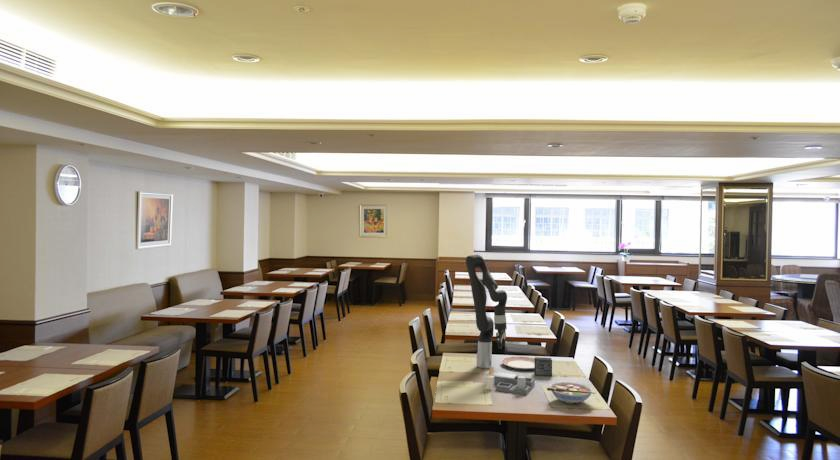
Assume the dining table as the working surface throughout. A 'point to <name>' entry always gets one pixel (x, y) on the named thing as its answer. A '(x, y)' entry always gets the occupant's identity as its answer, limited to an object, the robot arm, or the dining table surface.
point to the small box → (543, 366)
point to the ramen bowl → (570, 391)
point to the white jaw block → (490, 382)
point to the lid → (501, 374)
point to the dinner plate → (520, 362)
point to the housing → (515, 385)
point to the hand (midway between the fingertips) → (501, 347)
